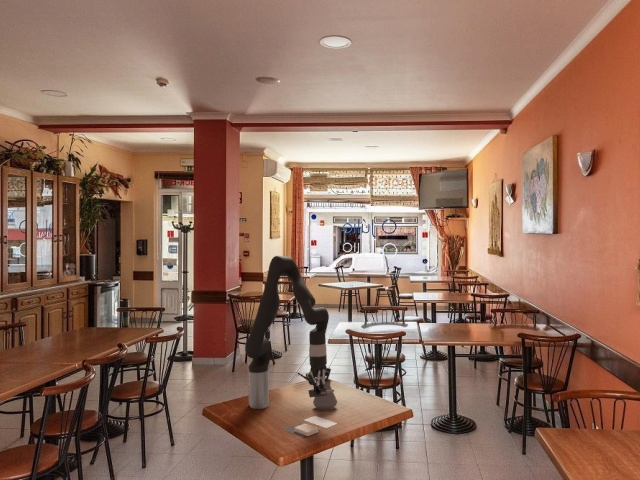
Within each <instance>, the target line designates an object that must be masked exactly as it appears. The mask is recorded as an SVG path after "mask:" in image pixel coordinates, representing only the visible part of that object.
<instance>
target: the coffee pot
mask: <svg viewBox="0 0 640 480" xmlns="http://www.w3.org/2000/svg"><path fill="white" fill-rule="evenodd" d="M295 376H296V377H299V376H300V377H302V378H303V379H304V380H305V381H308V379H307V377H306V375H304V374H302V373H300V372H297V374H296V375H295ZM331 383H332V379H329V378H328V381H327V382H325V384H324V388H326V390H333V389H332V386H331ZM319 384H320V383H319ZM319 384H318V386H319ZM312 403H313V406H314V407H315V408H316V409H317V410H318V411H331V410H333V409H334V408H335V407H336V406H337V405H338V399H337V398H336V395H335V393H334V392H331V393H328V394H327V395H326V396H321V397H313V401H312Z"/></svg>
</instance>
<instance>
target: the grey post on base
mask: <svg viewBox="0 0 640 480" xmlns="http://www.w3.org/2000/svg"><path fill="white" fill-rule="evenodd" d="M331 392H333V393H334V392H335V389H332V390H326V388H320V389H319V394H318V395H316V394H315V393H314V388H311V389H309V390H308V395H309V398H315V397H321V396H326V395H327V394H328V393H331Z"/></svg>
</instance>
